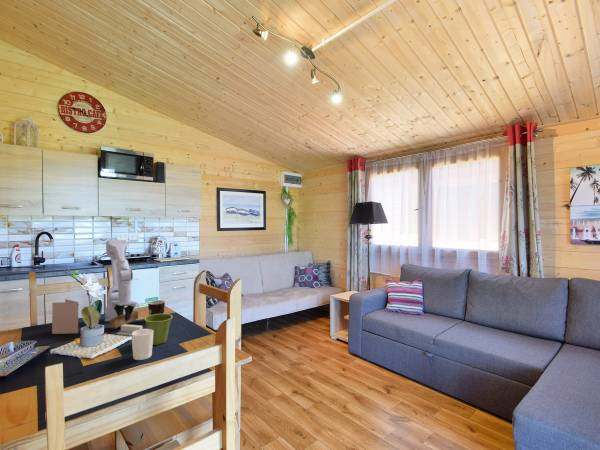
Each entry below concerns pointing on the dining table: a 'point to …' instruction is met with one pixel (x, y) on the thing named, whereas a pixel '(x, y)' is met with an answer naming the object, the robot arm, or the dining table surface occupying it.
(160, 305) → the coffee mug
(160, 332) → the plant pot
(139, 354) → the white cup
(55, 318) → the greeting card
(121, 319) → the walnut bar
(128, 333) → the fulcrum
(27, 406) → the dining table surface
